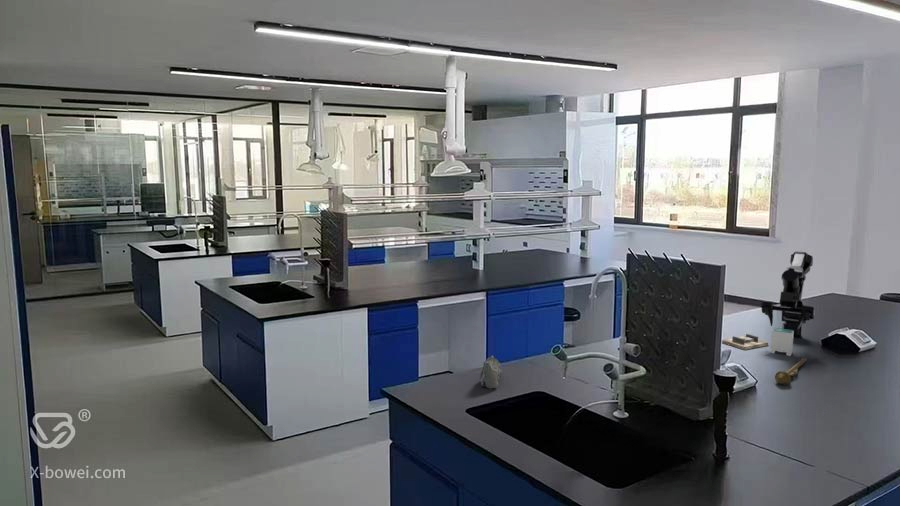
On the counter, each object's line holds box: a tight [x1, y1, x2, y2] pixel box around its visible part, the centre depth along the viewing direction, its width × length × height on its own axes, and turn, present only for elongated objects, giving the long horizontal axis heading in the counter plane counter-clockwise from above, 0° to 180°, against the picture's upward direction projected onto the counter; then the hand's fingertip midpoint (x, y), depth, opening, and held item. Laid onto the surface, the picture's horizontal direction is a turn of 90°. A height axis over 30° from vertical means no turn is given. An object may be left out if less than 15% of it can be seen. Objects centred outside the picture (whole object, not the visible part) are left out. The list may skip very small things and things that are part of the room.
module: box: [769, 327, 794, 357], centre depth 239 cm, size 5×7×9 cm
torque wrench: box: [774, 357, 807, 386], centre depth 216 cm, size 5×35×5 cm
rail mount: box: [721, 333, 769, 351], centre depth 251 cm, size 14×11×3 cm
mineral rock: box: [479, 355, 503, 389], centre depth 207 cm, size 13×11×10 cm
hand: (784, 327), depth 240 cm, fingers open, 9 cm apart
